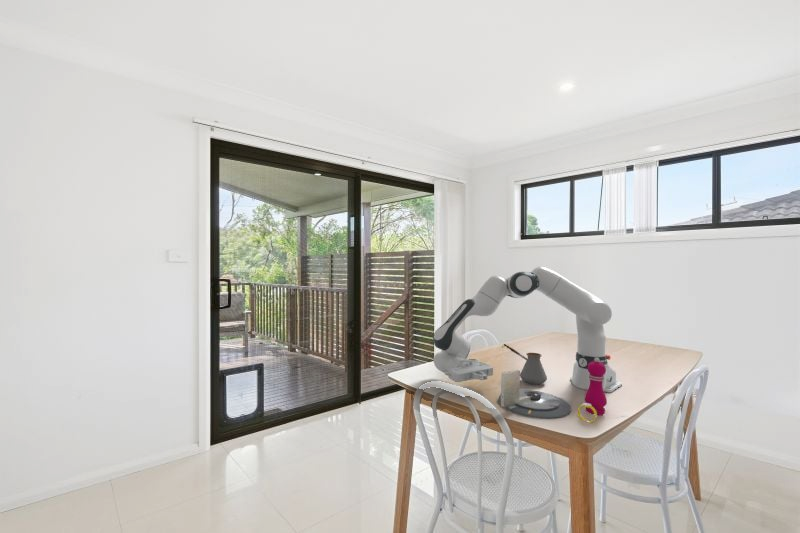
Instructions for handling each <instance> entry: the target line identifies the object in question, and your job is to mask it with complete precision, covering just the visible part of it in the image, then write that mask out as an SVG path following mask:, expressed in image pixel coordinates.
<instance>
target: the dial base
mask: <svg viewBox="0 0 800 533" xmlns="http://www.w3.org/2000/svg"><path fill="white" fill-rule="evenodd" d="M546 393H547V392H546ZM547 394H550V393H547ZM550 395H552V396H554V397H556V398H557V399H558V400H559V407H558V408H557V409H554V410H549V411H538V410H531V409H526V408H522V407H520V406H517V405H515V404H514V405H511V406H507V407H503V409H506V410H507V411H509V412H511V413H514V414H517V415H520V416H523V417H529V418H532V419H543V420H547V419H548V420H555V419H560V418H565V417H567V416H569V415H570V414H571V412H572V407H571V404H570V403H569V402H568V401H567V400H565V399H563V398H562V397H559V396H557V395H553V394H550ZM498 403H499V405H500V406H501V393H500V394H499V396H498Z"/></svg>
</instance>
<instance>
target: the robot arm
mask: <svg viewBox="0 0 800 533" xmlns="http://www.w3.org/2000/svg"><path fill="white" fill-rule="evenodd" d="M534 291H537V292H539V293H542V294H543V295H545V296H546V297H547V298H549V299H551V300H552V301H554V302H555V303H557V304H558V305H560V306H561V307H563V308H565V309H566V310H568V311H569V312H571V313H573V314H574V315H575V320H576V330H577V331H576V332H577V349H576V350H577V351H576V352H575V362H574V363H573V366H572V367H573V369H572V375H571V377H570V378H569V381H571V384H572V385H573V386H574V387H576V388H579V389H583V390H586V391H587V390H588V389H589V386H590V379H589V374H590V373H589V372H588V369H587V367H588V364H589V363H591V362H594V359H595V358H599V360H600V361H599V362H600V363H602V364H604V366H605V368H606V372H605V374H604V375H603V376H604V380H603V382H602V388H603V391H604V393H605V392H606V393H612V392H614V391H616V390H617V389H618V387H619V388H621V387H622V386H623V383H622V382H620V381H619V380H617V373H616V370H614V369H613V368H612V366H610V365H609V362H608V361H609V360H611V358H612V357H611V355H609V354H606V345H607V344H606V334H605V330H604V325H605V324H607V323H608V322H610V321H611V319H612V315H613V314H612V313H613V312H612V310H611V307H610V305H609V304H608V303H607V302H605V301H604V300H603V299H600V298H599V297H597V296H596V295H594V294H593V293H591V292H588V291H587V290H585V289H583V288H582V287H580V286H578V285H577V284H575V282H572V281H570V280H569V279H568V278H566V277H564V276H563V275H561V274H559V273H557V272H556V271H554V270H551V269H549V268H547V267H544V266H537V267H534V268H533V270H531V272H530V271H519V272H516V273H514V274H512V275H511V276H509V277H507V278H504V277H502V276H500V275H492V276H490V277H489V278H488V279H487V280H485V282H484V283H483V285H482V286H481V287H480V289H479V290H478V291H477V293H476V294H475V295H474V296H473V297H471V298H467V299H466V300H464V301H463V302H462V303H461V305H459V307H457V309H456V310H455V311H454V312H453V313H451V315H450V317H448V319H447V320H446V321H445V322H444V323H443V324H442V325H441V326H440V327H438V328H437V329H436V330H435V331H434V333H433V337H432V338H433V345H434V346H435V348H437V349H439V350H441V351H438V352H436V353H435V355H434V356H433V364H434V366H435V368H436V369H437V370H438V371H440V372H441V373H443V374H444V375H445V376H448V378H449V379H450V380H451V381H453V382H456V383H463V382H467V381H471V380H472V381H473V380H480V381H485V380H488V377H491V376H494V367H493V366H492V365H490V364H487V363H486V362H482V361H479V359H477V358H468V356H469V354H470V350H471V344H470V341H469V340H468V339H467V338H465V337H464V336H462V335H460V334H458V333H457V332H456V330H457V329H458V328H459V327H460V326H461V325H462V324H463V322H464V321H465V320H466V319H467V318H468V317H471V316H476V317H477V316H478V317H489V316H491V315H493V314H494V313H495V312H496V311H497V309H498V308H499V306H500V305H501V303H502V302H503V300H504V299H505V298H506V297H511V298H515V299H521V298H525V297H527V296H529V295H530V294H532V293H533V292H534ZM621 385H622V386H621ZM615 389H616V390H615Z"/></svg>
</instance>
